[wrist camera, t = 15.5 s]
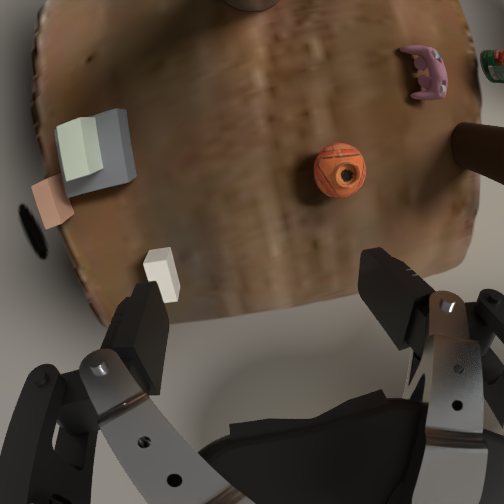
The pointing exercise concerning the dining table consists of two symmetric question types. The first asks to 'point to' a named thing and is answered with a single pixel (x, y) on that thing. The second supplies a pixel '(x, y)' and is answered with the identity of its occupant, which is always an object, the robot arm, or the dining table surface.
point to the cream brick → (163, 273)
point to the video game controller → (436, 70)
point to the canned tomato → (493, 65)
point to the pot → (339, 170)
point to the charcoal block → (106, 155)
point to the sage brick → (79, 147)
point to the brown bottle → (480, 149)
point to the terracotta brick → (52, 201)
